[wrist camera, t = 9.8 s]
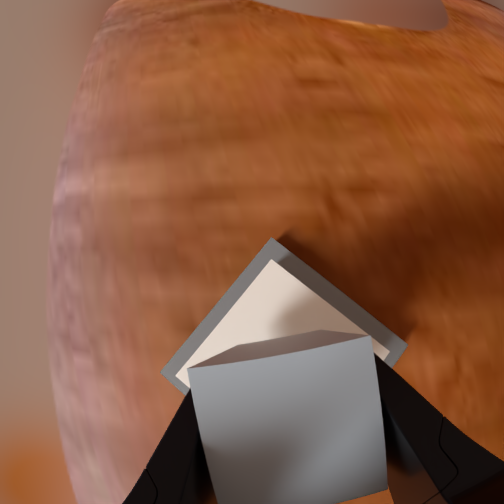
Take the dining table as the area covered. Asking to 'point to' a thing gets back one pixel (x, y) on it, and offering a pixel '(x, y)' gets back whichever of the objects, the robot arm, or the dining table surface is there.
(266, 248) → the square tray
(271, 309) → the off-white top slab
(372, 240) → the dining table surface
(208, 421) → the slate block
